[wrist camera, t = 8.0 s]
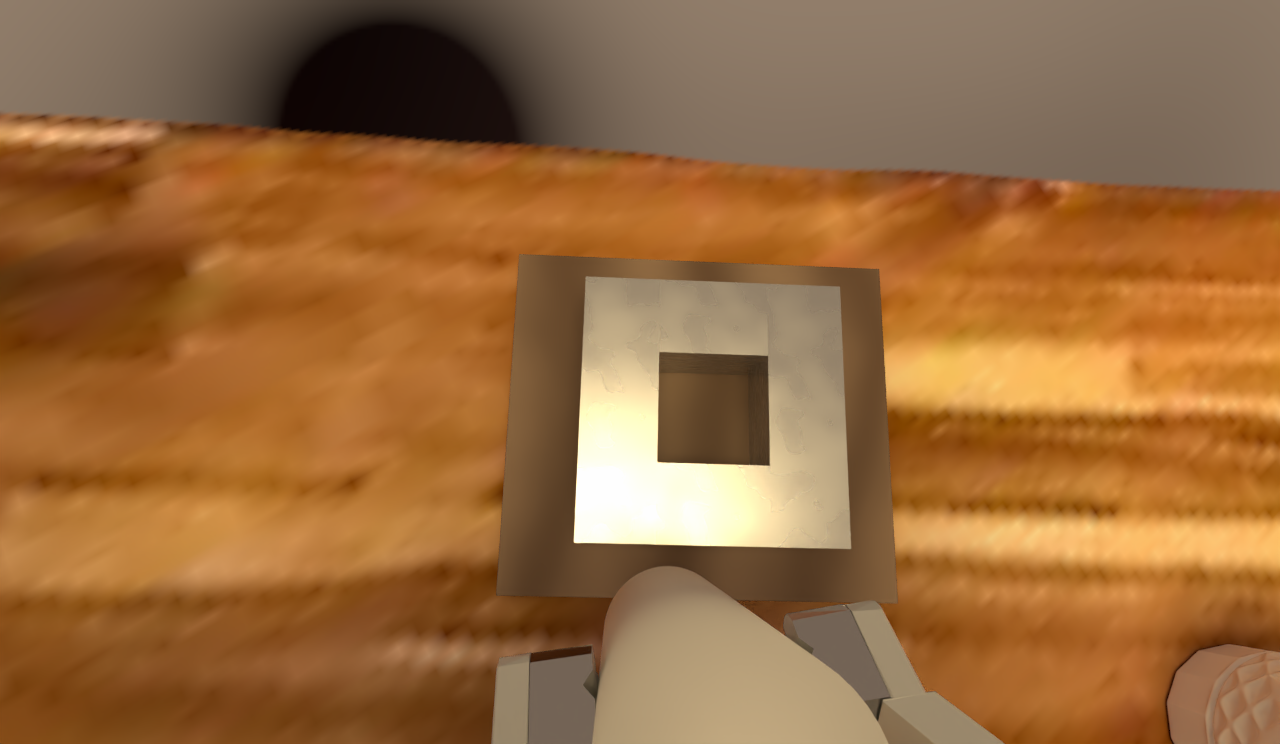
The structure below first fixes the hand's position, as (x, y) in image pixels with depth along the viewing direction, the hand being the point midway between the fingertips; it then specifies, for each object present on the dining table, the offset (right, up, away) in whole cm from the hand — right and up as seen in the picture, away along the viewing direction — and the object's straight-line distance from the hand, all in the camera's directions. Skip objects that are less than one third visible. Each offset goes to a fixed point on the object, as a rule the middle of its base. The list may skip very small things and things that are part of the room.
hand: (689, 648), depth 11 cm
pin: (0, -2, +5) cm, 6 cm away
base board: (+2, +2, +21) cm, 21 cm away
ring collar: (+2, +2, +21) cm, 21 cm away
